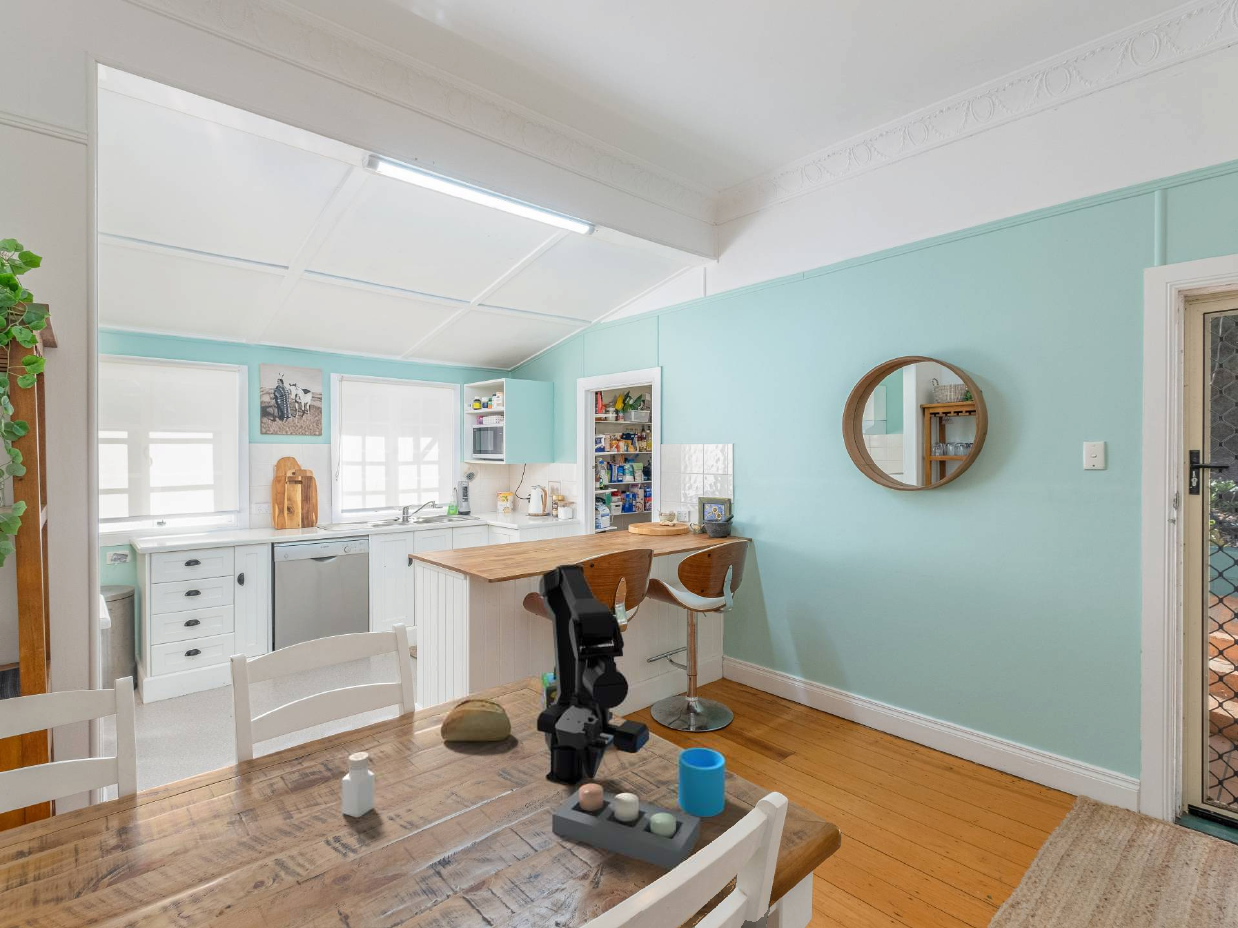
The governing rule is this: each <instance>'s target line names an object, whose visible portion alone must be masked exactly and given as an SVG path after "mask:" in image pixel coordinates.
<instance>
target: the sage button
mask: <svg viewBox="0 0 1238 928" xmlns="http://www.w3.org/2000/svg"><path fill="white" fill-rule="evenodd" d="M651 833H652V834H655V835H659V836H662V837H665V838H669V839H673V838H674V836H675V835H676V819H675V817H674V816H672V815H671V814H668V813H657V814H654V815H653V816H652V817H651Z"/></svg>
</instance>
